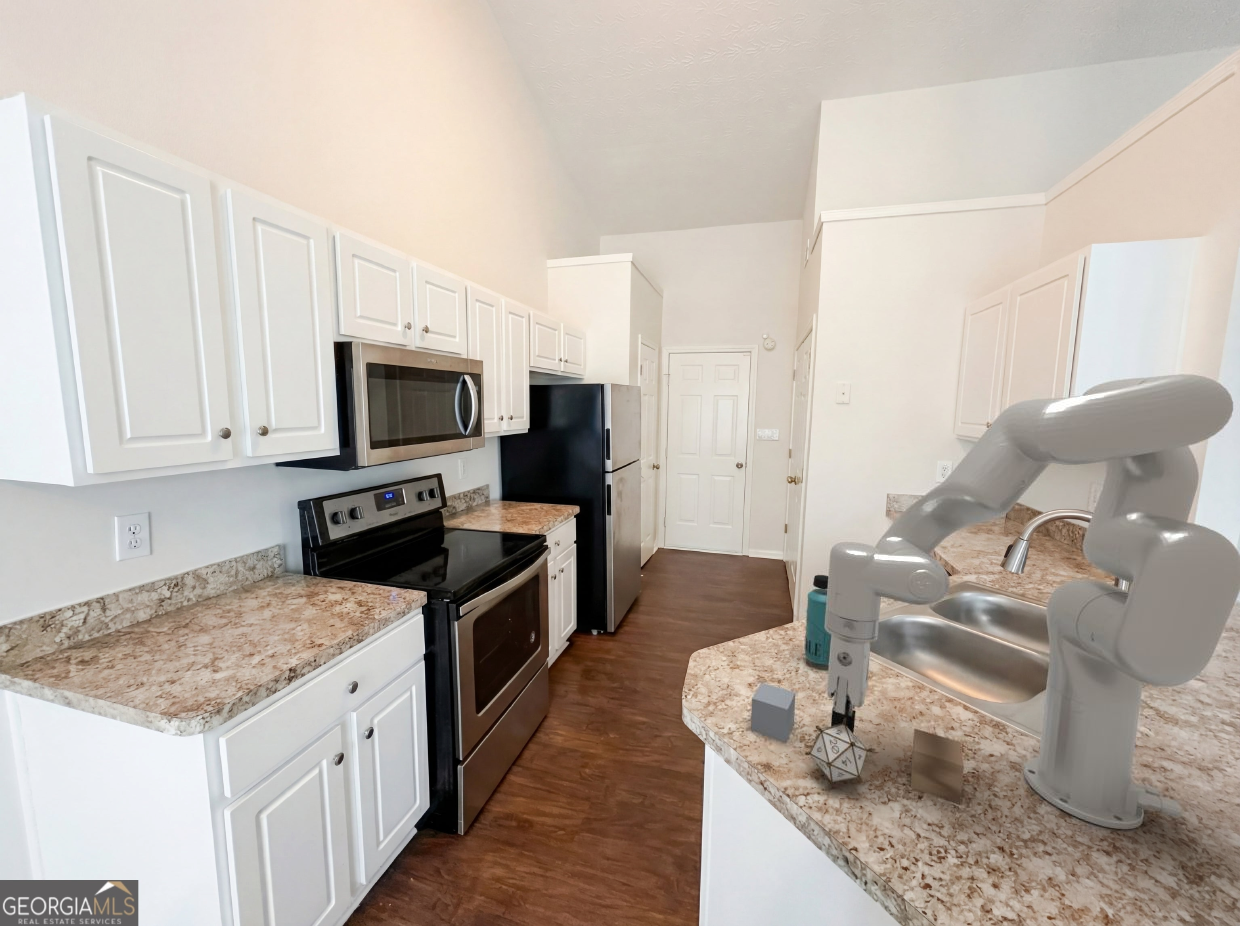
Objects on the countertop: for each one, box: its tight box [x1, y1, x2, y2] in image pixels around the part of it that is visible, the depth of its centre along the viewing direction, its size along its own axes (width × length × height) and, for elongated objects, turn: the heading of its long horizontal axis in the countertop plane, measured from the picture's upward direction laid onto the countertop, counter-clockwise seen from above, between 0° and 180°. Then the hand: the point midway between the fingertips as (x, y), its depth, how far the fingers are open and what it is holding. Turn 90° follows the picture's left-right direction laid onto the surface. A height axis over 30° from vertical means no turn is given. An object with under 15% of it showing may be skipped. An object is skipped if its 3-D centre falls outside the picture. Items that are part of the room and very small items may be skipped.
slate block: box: [750, 682, 796, 744], centre depth 85 cm, size 6×6×6 cm
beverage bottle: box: [803, 574, 832, 665], centre depth 106 cm, size 6×7×20 cm
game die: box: [803, 718, 875, 789], centre depth 73 cm, size 9×8×10 cm
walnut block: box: [910, 727, 965, 806], centre depth 72 cm, size 6×6×6 cm
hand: (842, 732), depth 77 cm, fingers closed
